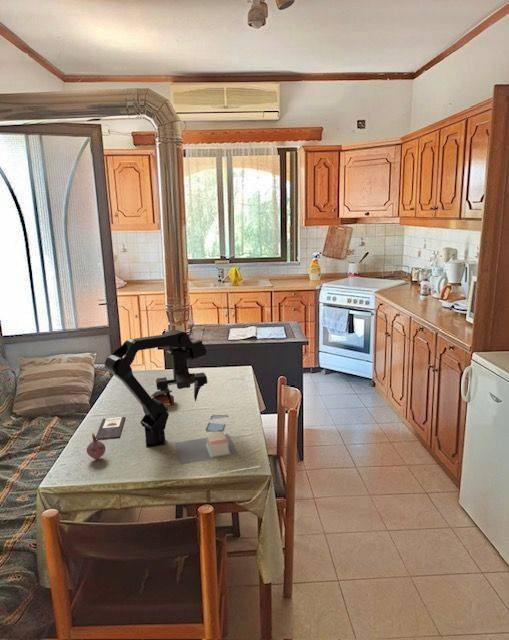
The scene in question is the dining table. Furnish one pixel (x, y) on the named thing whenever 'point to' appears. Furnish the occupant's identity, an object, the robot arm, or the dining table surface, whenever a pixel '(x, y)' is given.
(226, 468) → the dining table surface
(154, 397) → the canned food
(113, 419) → the chocolate bar
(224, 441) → the card box
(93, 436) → the vegetable
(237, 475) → the dining table surface
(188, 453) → the mat
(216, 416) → the smartphone
